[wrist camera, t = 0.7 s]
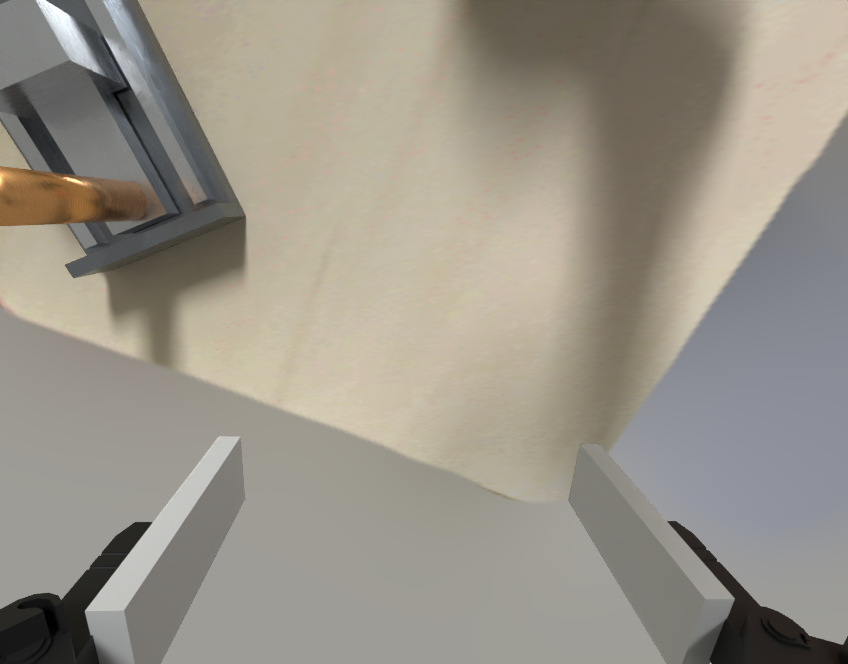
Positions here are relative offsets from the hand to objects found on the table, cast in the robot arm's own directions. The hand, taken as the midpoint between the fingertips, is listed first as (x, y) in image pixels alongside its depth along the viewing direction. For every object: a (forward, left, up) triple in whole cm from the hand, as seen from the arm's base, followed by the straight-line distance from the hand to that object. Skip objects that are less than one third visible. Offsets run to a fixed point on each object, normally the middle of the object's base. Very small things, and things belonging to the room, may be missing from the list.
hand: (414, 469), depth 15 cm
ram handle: (-6, -28, -25) cm, 38 cm away
